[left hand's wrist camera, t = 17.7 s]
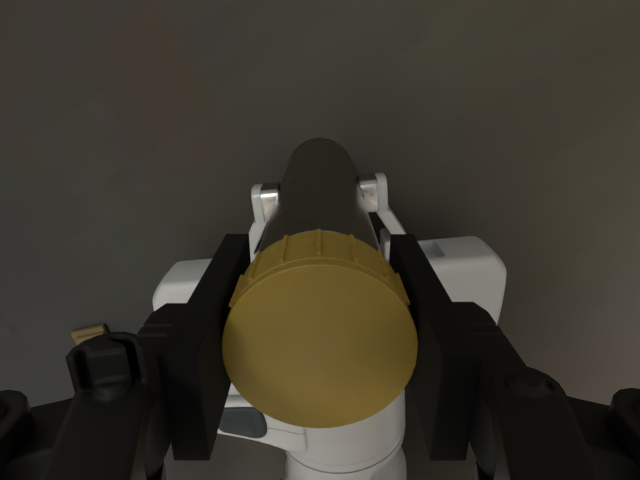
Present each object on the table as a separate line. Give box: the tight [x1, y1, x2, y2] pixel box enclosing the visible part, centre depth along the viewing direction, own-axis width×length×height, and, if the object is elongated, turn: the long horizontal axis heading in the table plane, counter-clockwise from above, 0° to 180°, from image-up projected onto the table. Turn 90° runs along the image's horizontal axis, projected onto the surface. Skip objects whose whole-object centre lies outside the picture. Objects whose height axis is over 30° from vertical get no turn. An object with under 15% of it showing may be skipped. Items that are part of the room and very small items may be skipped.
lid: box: [222, 229, 418, 428], centre depth 11 cm, size 5×5×2 cm
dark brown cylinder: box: [259, 138, 381, 252], centre depth 20 cm, size 4×4×20 cm
